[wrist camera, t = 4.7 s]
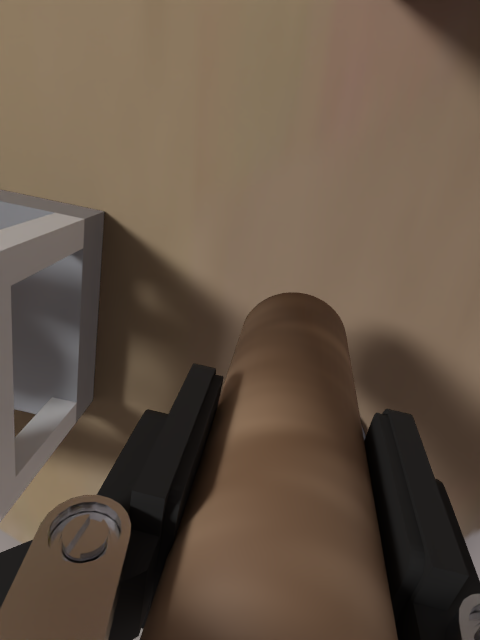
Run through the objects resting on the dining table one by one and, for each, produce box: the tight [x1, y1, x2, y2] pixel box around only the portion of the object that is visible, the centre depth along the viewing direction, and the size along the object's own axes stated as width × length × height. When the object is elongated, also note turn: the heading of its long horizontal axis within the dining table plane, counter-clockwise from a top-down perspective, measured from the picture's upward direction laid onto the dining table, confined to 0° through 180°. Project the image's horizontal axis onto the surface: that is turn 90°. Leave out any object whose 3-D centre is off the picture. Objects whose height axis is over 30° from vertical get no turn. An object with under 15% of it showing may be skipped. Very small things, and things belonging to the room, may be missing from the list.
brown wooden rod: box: [140, 293, 398, 640], centre depth 9 cm, size 4×4×14 cm
